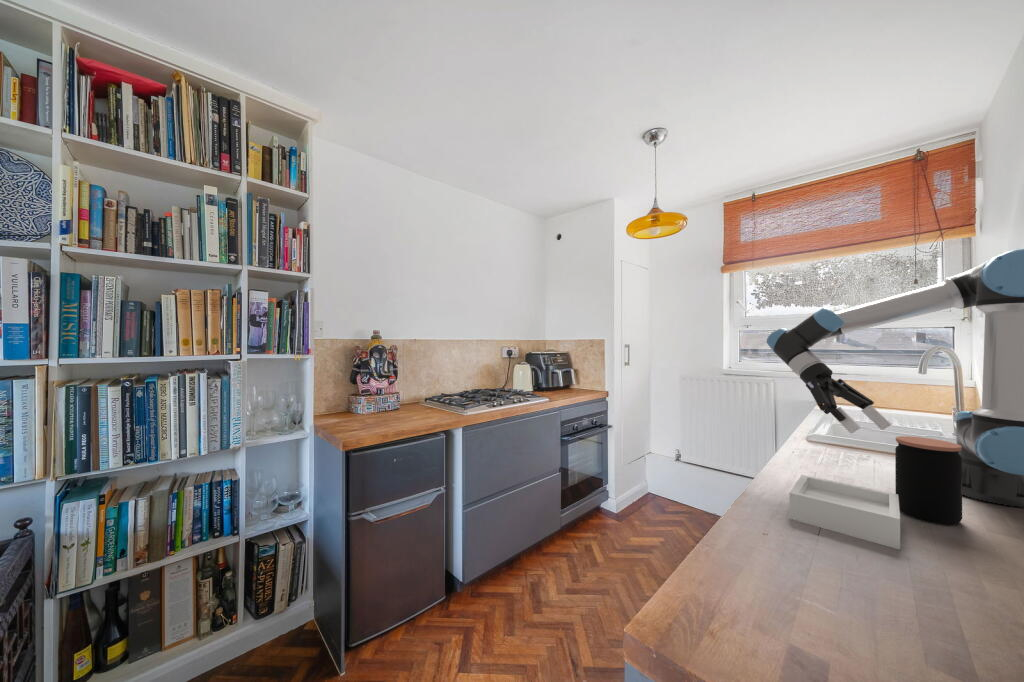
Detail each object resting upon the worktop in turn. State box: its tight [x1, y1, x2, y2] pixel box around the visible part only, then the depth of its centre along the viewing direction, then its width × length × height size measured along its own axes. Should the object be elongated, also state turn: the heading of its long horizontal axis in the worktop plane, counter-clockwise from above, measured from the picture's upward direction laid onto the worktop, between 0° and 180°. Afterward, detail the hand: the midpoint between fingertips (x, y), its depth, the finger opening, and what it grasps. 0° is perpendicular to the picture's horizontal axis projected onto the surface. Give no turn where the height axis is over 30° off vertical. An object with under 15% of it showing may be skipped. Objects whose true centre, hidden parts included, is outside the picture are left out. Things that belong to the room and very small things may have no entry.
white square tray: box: [788, 474, 901, 550], centre depth 86 cm, size 18×18×6 cm
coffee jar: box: [894, 435, 963, 526], centre depth 89 cm, size 11×11×18 cm
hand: (871, 429), depth 99 cm, fingers open, 13 cm apart
